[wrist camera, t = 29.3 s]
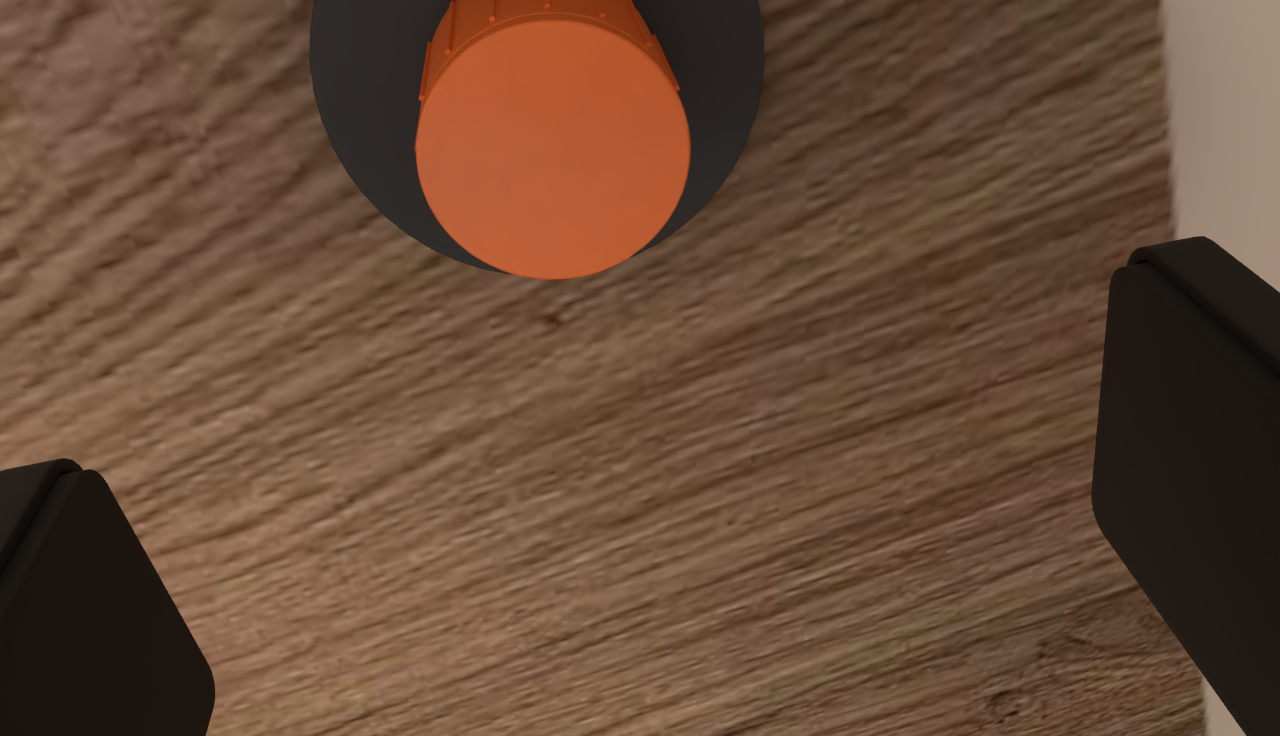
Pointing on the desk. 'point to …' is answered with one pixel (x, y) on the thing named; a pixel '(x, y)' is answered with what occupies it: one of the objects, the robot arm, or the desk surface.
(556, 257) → the cap
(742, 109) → the coaster
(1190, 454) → the robot arm
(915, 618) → the desk surface
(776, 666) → the desk surface
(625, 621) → the desk surface
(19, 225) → the desk surface
